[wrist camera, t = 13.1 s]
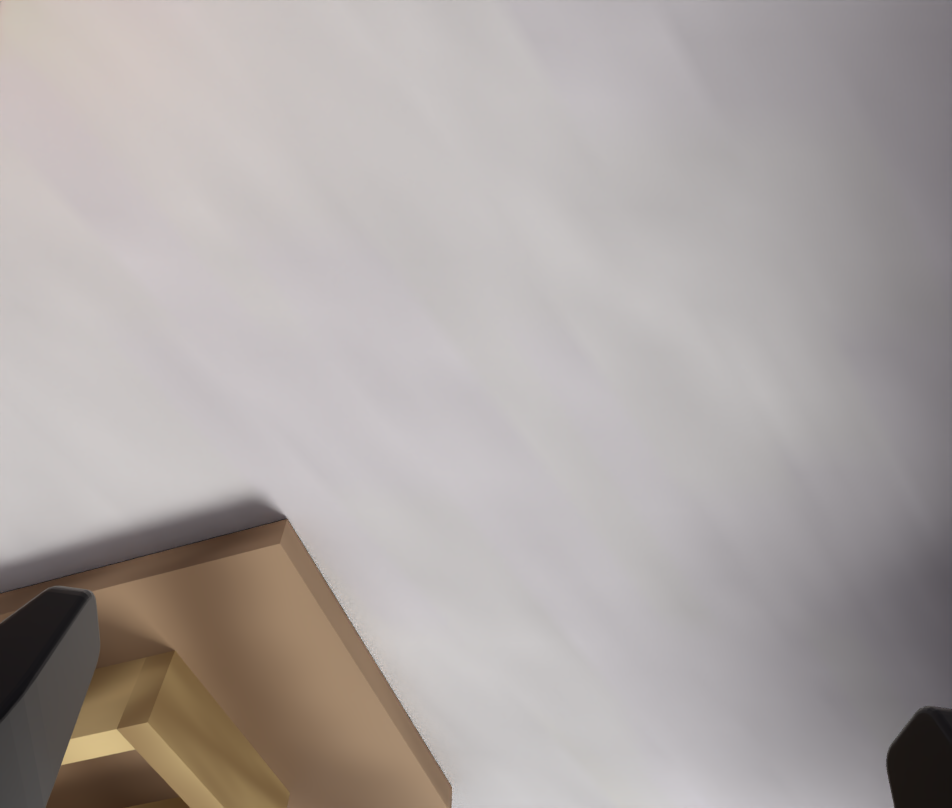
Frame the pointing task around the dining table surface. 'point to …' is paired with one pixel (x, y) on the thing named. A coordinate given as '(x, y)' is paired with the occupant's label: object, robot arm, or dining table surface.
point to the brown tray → (234, 689)
